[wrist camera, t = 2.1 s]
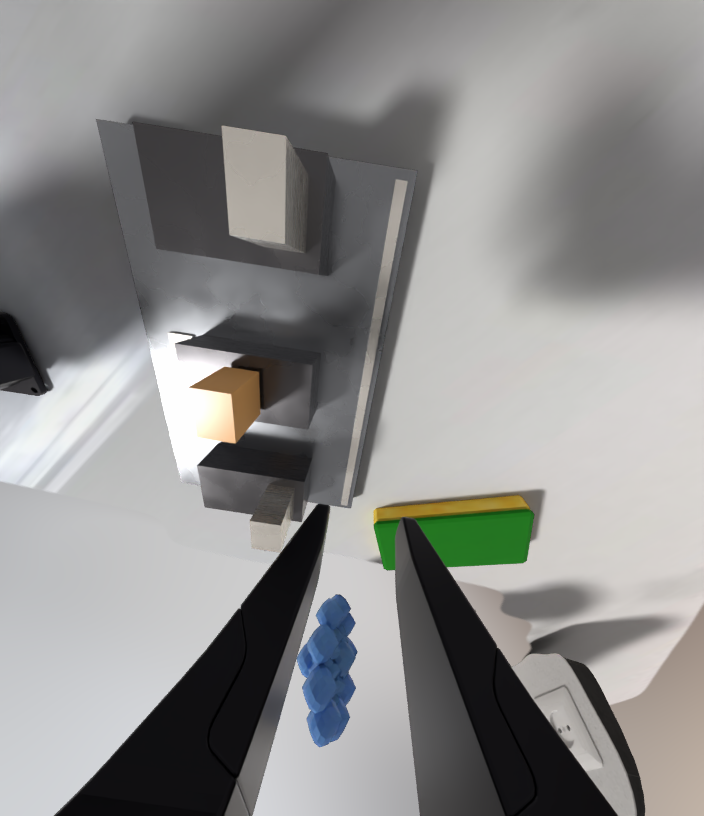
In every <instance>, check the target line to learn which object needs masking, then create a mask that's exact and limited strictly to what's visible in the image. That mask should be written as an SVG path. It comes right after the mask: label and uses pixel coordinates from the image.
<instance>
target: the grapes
mask: <svg viewBox="0 0 704 816" xmlns="http://www.w3.org/2000/svg"><path fill="white" fill-rule="evenodd" d="M350 609H351V608H350V606H349V604H348V602H347V601H346V599H345V598H344V597H342V596H341V595H335V596H334V597H333V598H332V599H328V600H326V601H325V602H324V603H323V604H322V606H321V607H320V609H319V610H318V612H317V614H316V617H317V619H318V621H319V623H320V626H319V627H318V628H317V629H316V630H315V631H314V632H313V634H312V636H311V637H310V639H309V640H308V642H307V644H306V645H304V647H303V648H302V650H301V651H300V653H299V654H298V656H297V662H298V665H299V668H300V670H301V673H302V674H303V675H304V676H305V677H306V678H307V679H306V681H305V683H304V685H303V687H302V689H303V693H304V696H305V700H306V702H307V704H308V707H309V709H310V710H311V711H310V713H309V715H308V717H307V722H308V726H309V730H310V733H311V736H312V738H313V741H314V743H315V744H316V745H318V746H319V747H322V746H325V745H327V744H329V742H333V741H335V740H337V739H338V738H339V737H340V735H341V734H342V733H343V731H344V729H345V727H346V725H347V723H348V720H349V718H350V716H349V713H348V710H347V708H346V705H347V704H348V702H349V701H350V699H351V697H352V695H353V693H354V691H355V689H356V687H355V685H354V683H353V680H352V679H351V677H350V675H349V669H350V667H351V666H352V663H353V662H354V660H355V656H356V654H357V650H356V648H355V646H354V644H353V642H352V641H351V640H350V639H349V638H348V637H347V636H348V635H349V634H350V633H351V631H352V629H353V627H354V625H355V621H354V619H353V617H352V616H351V614H350V613H349V611H350Z"/></svg>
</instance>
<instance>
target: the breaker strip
mask: <svg viewBox="0 0 704 816" xmlns="http://www.w3.org/2000/svg"><path fill="white" fill-rule="evenodd" d="M96 121H97V126H98V130H99V134H100V138H101V143H102V147H103V151H104V155H105V160H106V164H107V168H108V172H109V177H110V181H111V185H112V189H113V194H114V198H115V202H116V206H117V211H118V215H119V219H120V224H121V228H122V232H123V236H124V241H125V245H126V249H127V253H128V258H129V262H130V266H131V270H132V275H133V279H134V283H135V287H136V292H137V296H138V300H139V305H140V309H141V313H142V317H143V322H144V326H145V330H146V334H147V339H148V343H149V347H150V351H151V356H152V360H153V364H154V368H155V373H156V377H157V381H158V385H159V390H160V394H161V398H162V403H163V407H164V411H165V415H166V420H167V424H168V428H169V432H170V437H171V441H172V445H173V449H174V454H175V458H176V462H177V466H178V471H179V475H180V479H181V482H182V483H188V484H195V485H201V490H202V495H203V500H204V506H205V507H207V508H213V509H220V510H226V511H233V512H239V513H246V514H252V515H253V516H252V518H251V520H250V529H251V543H252V548H253V549H260V550H266V551H273V552H279V553H281V550H282V547H283V544H284V541H285V538H286V535H287V532H288V529H289V526H290V523H291V520H292V521H298V522H302V519H303V515H304V512H305V509H306V505H307V502H312V503H319V504H326V505H332V506H338V507H345V508H351V506H352V501H353V495H354V490H355V485H356V480H357V475H358V470H359V465H360V460H361V455H362V450H363V445H364V440H365V435H366V430H367V425H368V420H369V414H370V409H371V404H372V399H373V394H374V389H375V384H376V379H377V374H378V369H379V364H380V359H381V354H382V349H383V344H384V339H385V334H386V328H387V323H388V318H389V313H390V308H391V303H392V298H393V293H394V288H395V283H396V278H397V273H398V268H399V263H400V258H401V253H402V247H403V242H404V237H405V232H406V227H407V222H408V217H409V212H410V207H411V202H412V197H413V192H414V187H415V182H416V177H417V172H418V171H416V170H410V169H404V168H397V167H391V166H385V165H379V164H373V163H366V162H360V161H354V160H348V159H342V158H335V157H329V156H328V154H327V153H323V152H317V151H311V150H305V149H298V148H293V147H292V145H291V143H290V142H289V140H288V138H287V136H284V135H278V134H272V133H266V132H260V131H253V130H247V129H241V128H235V127H229V126H222V136H218V135H211V134H205V133H199V132H193V131H187V130H180V129H174V128H168V127H162V126H156V125H149V124H143V123H137V122H132V123H133V125H130V124H124V123H118V122H112V121H105V120H99V119H96ZM223 367H231V368H237V369H244V370H250V371H257V372H259V386H260V415H259V416H258V418H257V419H256V420H255V421H254V422H253V424H252V425H251V426H250V427H249V428H248V430H247V431H246V432H245V433H244V434H243V436H242V437H241V438H240V439H239V440H238V442H237V443H236V444H235V443H228V442H222V441H215V440H209V439H203V438H197V435H196V429H195V423H194V418H193V412H192V406H191V401H190V395H189V389H188V387H190V386H191V385H193V384H195V383H197V382H198V381H200V380H202V379H204V378H205V377H207V376H209V375H211V374H212V373H214V372H216V371H218V370H219V369H221V368H223Z"/></svg>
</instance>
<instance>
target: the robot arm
mask: <svg viewBox="0 0 704 816" xmlns="http://www.w3.org/2000/svg"><path fill="white" fill-rule="evenodd" d="M0 390H3V391H9V392H16V393H22V394H28V395H35V396H40V395H43V394H45V393H46V392H47V391H46V388H45V386H44V384H43V381H42V379H41V377H40V375H39V373H38V371H37V369H36V366H35V364H34V362H33V360H32V358H31V356H30V353H29V351H28V349H27V347H26V345H25V343H24V340H23V338H22V336H21V334H20V332H19V330H18V327H17V325H16V323H15V321H14V319H13V318H12V317H11V316H10V315H9V314H7V313H5V312H0ZM329 513H330V506H329V505H326V504H318V505H316V507H315V508H314V509H313V511H312V512H311V513H310V515H309V516H308V517H307V519H306V520H305V521H304V523H303V524H302V525H301V527H300V528H299V529H298V530H297V532H296V533H295V534H294V536H293V537H292V538H291V540H290V541H289V542H288V544H287V545H286V546H285V548H284V549H283V550H282V552H281V553H280V554H279V556H278V557H277V558H276V560H275V561H274V562H273V564H272V565H271V566H270V567H269V569H268V570H267V571H266V573H265V574H264V575H263V577H262V578H261V579H260V581H259V582H258V583H257V585H256V586H255V587H254V589H253V590H252V591H251V593H250V594H249V595H248V597H247V598H246V599H245V601H244V602H243V603H242V604H241V609H238V610H237V611H236V612H235V613H234V615H233V616H232V617H231V619H230V620H229V621H228V623H227V624H226V625H225V627H224V628H223V629H222V630H221V632H220V633H219V634H218V635H217V637H216V638H215V639H214V640H213V642H212V643H211V644H210V645H209V647H208V648H207V650H206V651H205V652H204V653H203V654H202V655H201V656H200V657H199V659H198V660H197V661H196V662H195V663H194V664H193V666H192V667H191V668H190V669H189V670H188V671H187V672H186V674H185V675H184V676H183V677H182V678H181V680H180V681H179V682H178V683H177V684H176V685H175V686H174V687H173V688H172V690H171V691H170V692H169V693H168V694H167V695H166V696H165V697H164V698H163V699H162V701H161V702H160V703H159V704H158V705H157V706H156V707H155V708H154V710H153V711H152V712H151V713H150V714H149V715H148V716H147V717H146V719H145V720H144V721H143V722H142V723H141V724H140V725H139V726H138V728H137V729H136V730H135V731H134V732H133V733H132V734H131V735H130V736H129V737H128V739H127V740H126V741H125V742H124V743H123V744H122V745H121V746H120V747H119V749H118V750H117V751H116V752H115V753H114V754H113V755H112V756H111V758H110V759H109V760H108V761H107V762H106V763H105V764H104V765H103V766H102V767H101V768H100V769H99V770H98V772H97V773H96V774H95V775H94V776H93V777H92V778H91V779H90V780H89V781H88V782H87V783H86V784H85V785H84V786H83V787H82V788H81V789H80V790H79V791H78V792H77V794H75V795H74V796H73V798H71V799H70V800H69V801H68V802H67V804H65V805H64V806H63V807H62V808H61V809H60V810H59V811H58V812H57V813H56V814H55V815H54V816H252V815H253V812H254V808H255V804H256V801H257V797H258V794H259V790H260V787H261V783H262V779H263V776H264V772H265V769H266V765H267V762H268V758H269V754H270V751H271V747H272V744H273V740H274V737H275V733H276V730H277V726H278V722H279V719H280V715H281V712H282V708H283V704H284V701H285V697H286V694H287V690H288V687H289V683H290V680H291V676H292V672H293V669H294V665H295V662H296V658H297V655H298V651H299V648H300V644H301V640H302V637H303V633H304V629H305V626H306V623H307V619H308V616H309V612H310V608H311V605H312V601H313V598H314V594H315V590H316V587H317V583H318V579H319V574H320V568H321V562H322V556H323V550H324V544H325V539H326V533H327V527H328V520H329ZM395 578H396V580H395V582H396V601H397V610H398V619H399V628H400V638H401V646H402V656H403V664H404V674H405V682H406V692H407V701H408V710H409V720H410V728H411V738H412V746H413V756H414V765H415V775H416V784H417V793H418V801H419V811H420V816H618V815H617V813H616V812H615V811H614V809H613V808H612V806H611V805H610V804H609V802H608V801H607V800H606V798H605V797H604V796H603V794H602V793H601V792H600V790H599V789H598V788H597V786H596V785H595V783H594V782H593V781H592V779H591V778H590V777H589V775H588V774H587V773H586V771H585V770H584V769H583V767H582V766H581V764H580V763H579V762H578V760H577V759H576V758H575V756H574V755H573V754H572V752H571V751H570V750H569V748H568V747H567V746H566V744H565V743H564V741H563V740H562V739H561V737H560V736H559V735H558V733H557V732H556V730H555V729H554V728H553V726H552V725H551V723H550V722H549V721H548V719H547V718H546V717H545V715H544V714H543V712H542V711H541V710H540V708H539V707H538V705H537V704H536V703H535V701H534V700H533V698H532V697H531V695H530V694H529V692H528V691H527V689H526V688H525V686H524V685H523V684H522V682H521V681H520V679H519V678H518V676H517V675H516V673H515V672H514V670H513V669H512V667H511V666H510V664H509V663H508V661H507V659H506V658H505V656H504V655H503V653H502V652H501V651H500V649H499V648H497V645H496V643H495V641H494V640H493V638H492V637H491V635H490V634H489V632H488V630H487V629H486V627H485V626H484V624H483V623H482V621H481V620H480V618H479V617H478V615H477V614H476V612H475V610H474V609H473V608H472V606H471V604H470V603H469V602H468V600H467V598H466V597H465V595H464V594H463V592H462V591H461V589H460V587H459V586H458V584H457V583H456V581H455V580H454V578H453V577H452V575H451V574H450V572H449V570H448V569H447V567H446V566H445V564H444V563H443V561H442V560H441V558H440V557H439V555H438V554H437V552H436V550H435V549H434V547H433V546H432V544H431V543H430V541H429V540H428V538H427V537H426V535H425V534H424V532H423V530H422V529H421V527H420V526H419V524H418V523H417V521H416V520H415V519H414V518H409V517H402V518H401V520H400V522H399V525H398V528H397V531H396V535H395Z"/></svg>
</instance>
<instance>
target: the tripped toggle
mask: <svg viewBox="0 0 704 816" xmlns="http://www.w3.org/2000/svg"><path fill="white" fill-rule="evenodd" d="M188 389H189V395H190V401H191V406H192V412H193V418H194V423H195V429H196V435H197V438H203V439H209V440H215V441H222V442H228V443H235V444H236V443H237V442H238V440H239V439H240V438H241V437H242V436H243V434H244V433H245V432H246V431H247V430H248V428H249V427H250V426H251V425H252V424H253V422H254V421H255V420H256V419H257V418H258V416H259V415H260V386H259V372H257V371H250V370H244V369H237V368H231V367H223V368H221V369H219V370H218V371H216V372H214V373H212V374H211V375H209V376H207V377H205V378H204V379H202V380H200V381H198V382H197V383H195V384H193V385H191V386H190V387H188Z"/></svg>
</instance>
